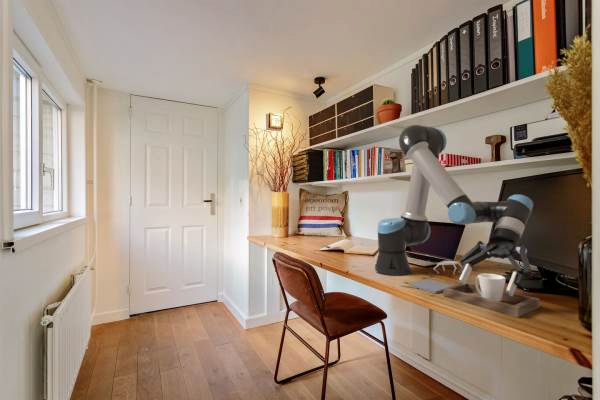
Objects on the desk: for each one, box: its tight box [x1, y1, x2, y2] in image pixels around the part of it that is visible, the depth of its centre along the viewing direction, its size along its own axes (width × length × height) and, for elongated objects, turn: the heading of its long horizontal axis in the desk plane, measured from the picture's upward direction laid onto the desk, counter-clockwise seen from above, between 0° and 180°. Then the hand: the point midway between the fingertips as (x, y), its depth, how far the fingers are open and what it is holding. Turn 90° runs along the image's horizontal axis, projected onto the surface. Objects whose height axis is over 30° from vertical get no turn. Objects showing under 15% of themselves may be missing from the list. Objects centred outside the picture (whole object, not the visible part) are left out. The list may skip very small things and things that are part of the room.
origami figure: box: [433, 260, 463, 276], centre depth 123 cm, size 12×8×5 cm
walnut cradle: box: [443, 281, 540, 318], centre depth 89 cm, size 21×13×2 cm, turn 31°
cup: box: [474, 273, 507, 302], centre depth 89 cm, size 7×10×8 cm
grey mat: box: [407, 278, 454, 294], centre depth 104 cm, size 11×11×1 cm
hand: (484, 287), depth 87 cm, fingers open, 13 cm apart
